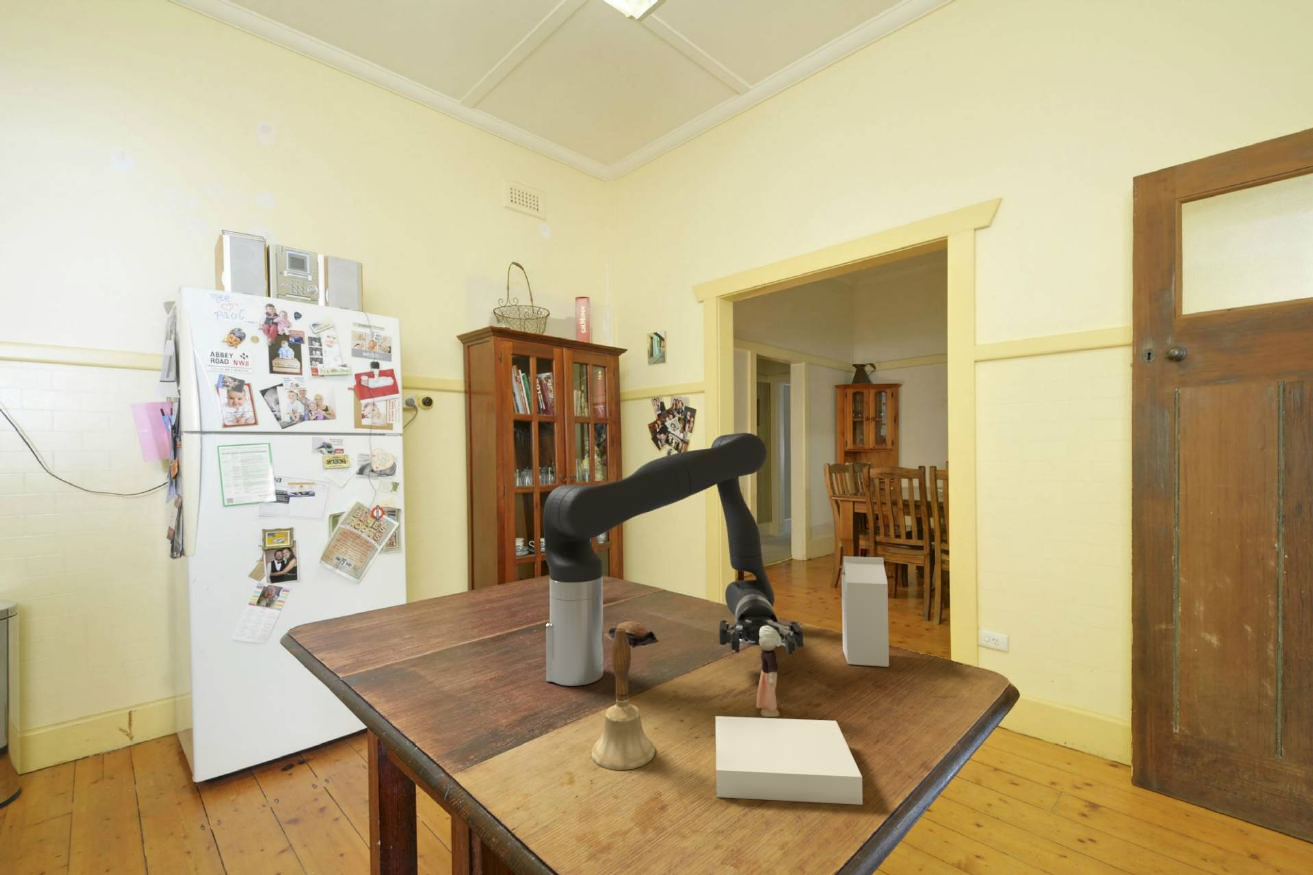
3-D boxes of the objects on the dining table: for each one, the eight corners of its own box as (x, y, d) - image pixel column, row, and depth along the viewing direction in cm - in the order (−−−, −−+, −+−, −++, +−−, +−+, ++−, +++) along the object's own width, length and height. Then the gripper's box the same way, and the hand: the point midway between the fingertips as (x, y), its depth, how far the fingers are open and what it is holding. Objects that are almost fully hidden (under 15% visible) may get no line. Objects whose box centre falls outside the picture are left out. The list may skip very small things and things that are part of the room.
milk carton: (889, 667, 101) (887, 561, 101) (847, 665, 102) (845, 560, 103) (881, 653, 108) (879, 554, 108) (842, 651, 109) (841, 553, 110)
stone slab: (716, 797, 64) (716, 770, 64) (715, 738, 76) (715, 716, 77) (862, 804, 62) (862, 777, 62) (836, 743, 75) (836, 720, 75)
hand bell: (609, 778, 67) (608, 644, 68) (580, 747, 74) (580, 626, 75) (667, 757, 72) (666, 632, 72) (635, 730, 79) (634, 616, 79)
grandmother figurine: (750, 701, 88) (749, 619, 88) (774, 700, 88) (773, 618, 88) (763, 725, 80) (762, 635, 80) (789, 723, 81) (788, 634, 81)
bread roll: (601, 638, 120) (600, 620, 120) (634, 630, 125) (633, 613, 125) (627, 652, 111) (627, 633, 112) (662, 643, 116) (662, 625, 116)
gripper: (718, 598, 108) (719, 623, 92) (793, 599, 107) (808, 625, 91) (718, 637, 108) (720, 669, 92) (793, 639, 107) (808, 672, 91)
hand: (763, 647), depth 92 cm, fingers open, 8 cm apart
